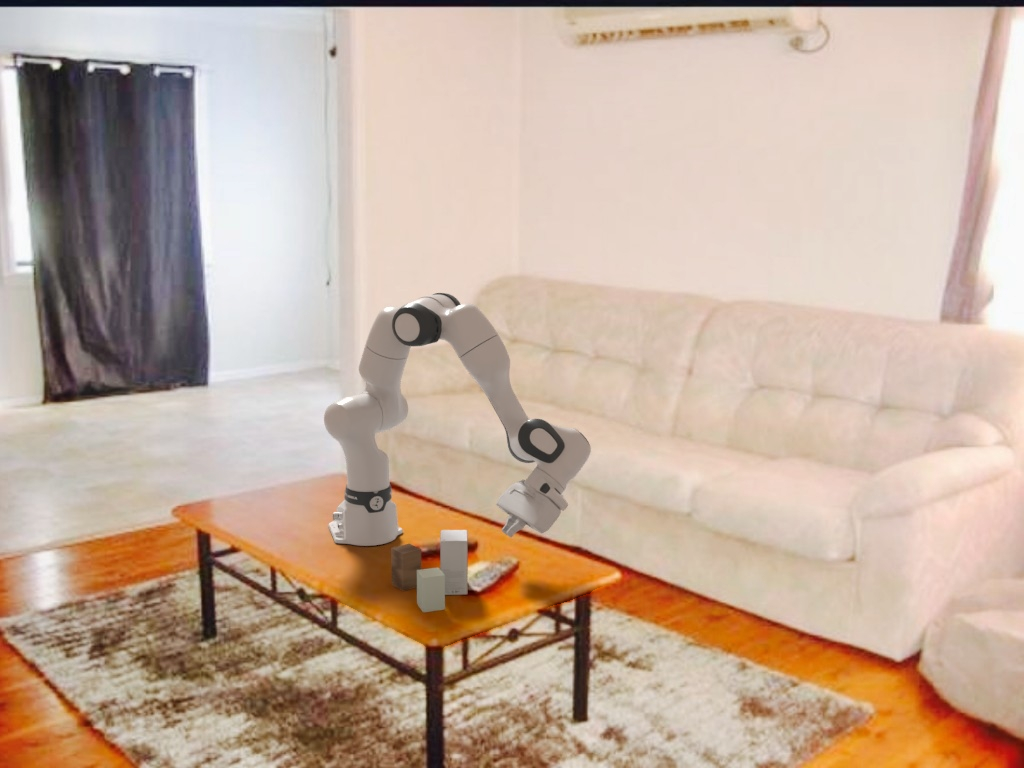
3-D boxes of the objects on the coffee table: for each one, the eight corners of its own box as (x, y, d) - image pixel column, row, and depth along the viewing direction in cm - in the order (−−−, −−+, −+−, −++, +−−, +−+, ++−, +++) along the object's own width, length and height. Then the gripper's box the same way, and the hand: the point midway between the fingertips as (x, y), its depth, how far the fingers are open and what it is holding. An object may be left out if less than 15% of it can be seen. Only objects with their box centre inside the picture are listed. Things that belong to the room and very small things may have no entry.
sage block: (417, 603, 231) (416, 570, 230) (438, 600, 233) (438, 567, 232) (423, 612, 227) (422, 578, 225) (444, 609, 229) (444, 575, 227)
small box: (467, 595, 236) (467, 540, 234) (440, 595, 236) (439, 541, 234) (467, 581, 244) (467, 529, 242) (440, 582, 244) (440, 529, 242)
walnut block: (391, 584, 242) (391, 547, 241) (409, 579, 246) (409, 543, 244) (403, 591, 239) (402, 553, 237) (421, 586, 242) (421, 549, 240)
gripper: (513, 470, 255) (477, 514, 252) (555, 491, 237) (518, 539, 234) (528, 485, 258) (494, 529, 255) (572, 507, 240) (535, 554, 237)
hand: (506, 534), depth 244 cm, fingers closed
